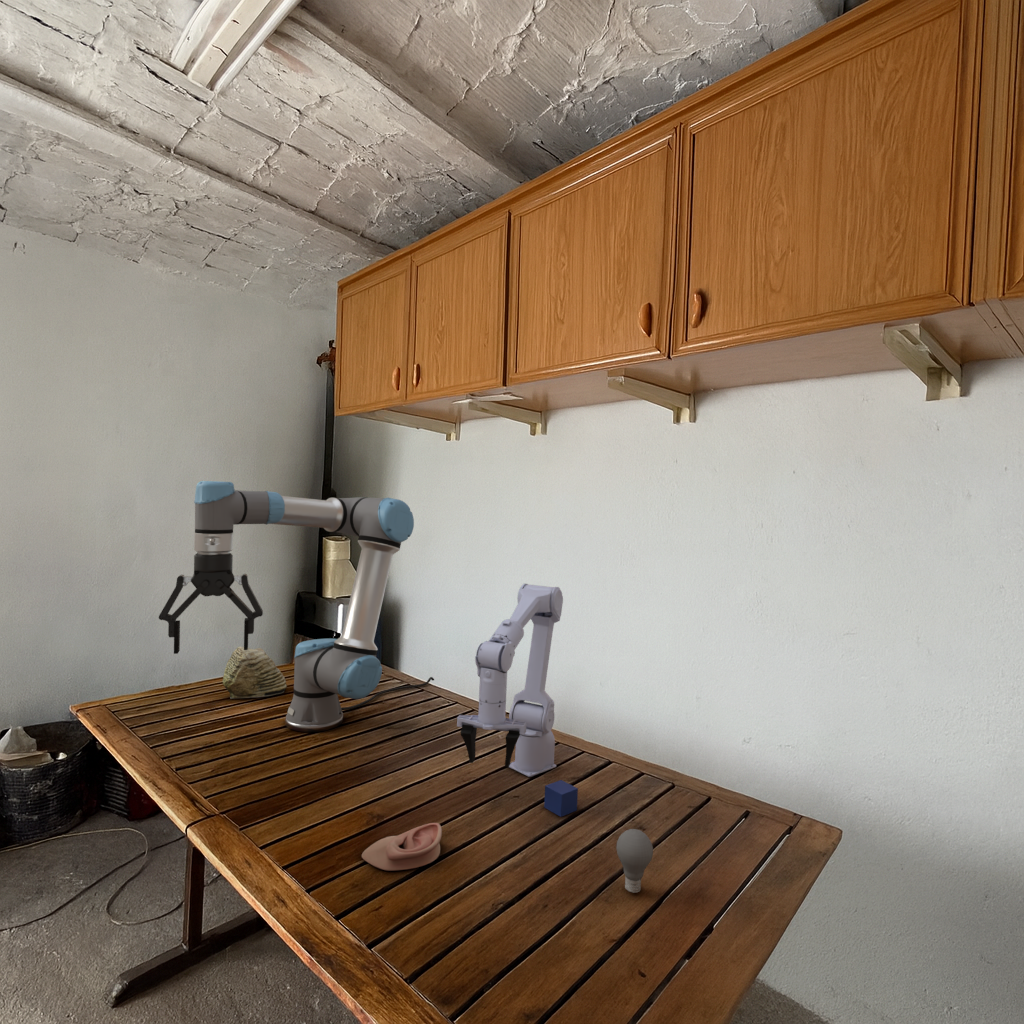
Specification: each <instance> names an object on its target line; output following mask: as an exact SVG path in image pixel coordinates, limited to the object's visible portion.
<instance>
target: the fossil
mask: <svg viewBox="0 0 1024 1024" xmlns="http://www.w3.org/2000/svg"><path fill="white" fill-rule="evenodd" d="M222 676H223V677H222V685H223V687H224V688H225V690H226V691H228V693H229V698H230V699H250V698H264V697H271V696H275V695H281V694H284V693H285V691H286V689H287V687H288V686H287V680H286V678H285V676H284V674H283V673H282V672H281V669H279V668H278V667H277V665H276V663H275V662H274V660H273V659H272V658H271V657H270V656H269V655H268V654H267V653H266V652H265V650H264V649H263V648H260V647H258V648H251V647H248V650H244V646H238V647H237V648H236V649H235V650H233V651H232V653H231V656H230V657H229V659H228V660H227V663H226V666H225V668H224V671H223V675H222Z"/></svg>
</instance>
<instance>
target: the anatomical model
mask: <svg viewBox="0 0 1024 1024" xmlns="http://www.w3.org/2000/svg"><path fill="white" fill-rule="evenodd" d="M442 835H443V829H442V826H441V824H440V823H439V822H430V823H425V824H422V825H419V826H417V827H414V828H412V829H410V830H407V831H404V832H402V833H399V834H397V835H389V836H385V837H383V838H381V839H379V840H377V841H375V842H373V843H372V844H370V845H369V846H368V847H367V848H366V849H364V851H362V852H361V853H362V854H361V858H362V859H363V861H365V862H366V863H368V864H370V865H371V866H373V867H375V868H377V869H379V870H384V871H387V872H389V871H390V872H391V871H403V870H412V869H416V868H419V867H423V866H426V865H428V864H431V863H433V862H434V861H435V860H437V859H439V856H440V855H441V844H440V842H441V839H442Z"/></svg>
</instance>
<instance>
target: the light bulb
mask: <svg viewBox="0 0 1024 1024" xmlns="http://www.w3.org/2000/svg"><path fill="white" fill-rule="evenodd" d="M615 849H616V854H617V857H618V859H619V861H620V863H621V865H622V867H623V873H624V874H623V875H624V876H625V878H624V888H625V890H627V891H628V892H630V893H634V894H635V893H639V892H640V891H641V889H642V887H641V886H642V879H643V877H644V875H645V871H646V868H647V867H648V866H649V864H650V863H651V861H652V859H653V855H654V847H653V843H652V841H651V838H649V836H648V835H647V834H646V833H645V832H643V831H642V830H641V829H636V828H629V829H627V830H625V831H623V832H622V833H621V834H620V835H619V837H618V839H617V841H616V847H615Z"/></svg>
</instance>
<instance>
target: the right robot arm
mask: <svg viewBox="0 0 1024 1024" xmlns="http://www.w3.org/2000/svg"><path fill="white" fill-rule="evenodd" d="M563 597H564V596H563V592H562V590H561V588H560V587H559V586H547V585H536V584H529V583H523V584H522V585H520V587H519V589H518V591H517V605H516V607H515V608H514V610H513V612H512V614H511V616H510V618H507V619H504V620H502V621H501V622H500V624H499V625H498V626H497V628H496V630H495V631H494V632H493V634H492V635H491V637H490V638H489V639H488V640H485V641H483V642H481V643H479V645H478V647H477V649H476V652H475V656H474V659H475V660H474V661H475V665H476V668H477V669H476V670H477V673H476V674H477V676H478V677H479V691H478V714H468V715H467V714H459V715H458V716H457V717H456V728H457V727H458V728H461V729H460V736H461V738H462V740H463V742H464V745H465V747H466V751H467V756H468V763H469V764H473V763H474V762H475V760H476V741H477V732H478V729H482V730H487V731H492V730H493V731H501V732H507V733H506V735H505V760H504V768H507V769H508V768H510V769H512V770H513V771H516V772H518V773H520V774H522V775H524V776H526V777H528V778H532V777H534V776H537V775H540V774H542V773H545V772H547V771H550V770H552V769H556V768H557V764H556V763H555V752H556V751H555V748H556V739H555V735H554V732H553V731H552V729H553V727H554V725H555V724H554V723H555V701H554V699H552V697H551V696H550V694H548V693H547V692H546V685H547V676H548V669H549V661H550V656H551V646H552V641H553V640H552V639H553V632H554V626H555V623H558V622H560V621H561V617H562V613H563V612H562V611H563V605H564V604H563V603H564V598H563ZM530 620H531V622H532V624H533V626H532V633H531V641H530V648H529V653H528V654H529V655H528V661H527V669H526V677H525V684H524V688H523V689H522V690H520V691H518V692H517V693H516V694H514V696H513V700H512V704H511V706H510V709H509V712H508V713H509V715H508V717H506V709H507V689H508V671H509V670H510V669H511V668H512V665H513V660H514V657H515V653H516V652H515V650H517V649H516V648H518V646H519V644H520V642H521V641H522V639H523V638H524V636H525V630H524V628H525V627H526V625H527V624H528V623H529V622H530ZM514 752H515V753H514ZM513 753H514V761H512V756H513ZM511 761H512V762H511Z"/></svg>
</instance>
